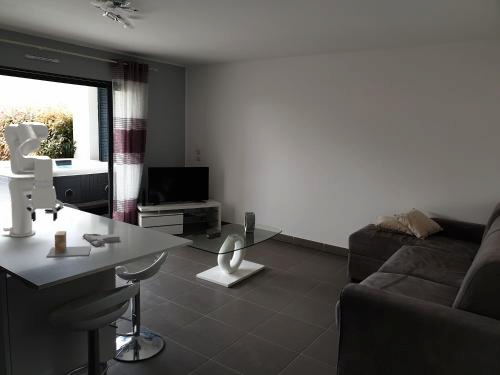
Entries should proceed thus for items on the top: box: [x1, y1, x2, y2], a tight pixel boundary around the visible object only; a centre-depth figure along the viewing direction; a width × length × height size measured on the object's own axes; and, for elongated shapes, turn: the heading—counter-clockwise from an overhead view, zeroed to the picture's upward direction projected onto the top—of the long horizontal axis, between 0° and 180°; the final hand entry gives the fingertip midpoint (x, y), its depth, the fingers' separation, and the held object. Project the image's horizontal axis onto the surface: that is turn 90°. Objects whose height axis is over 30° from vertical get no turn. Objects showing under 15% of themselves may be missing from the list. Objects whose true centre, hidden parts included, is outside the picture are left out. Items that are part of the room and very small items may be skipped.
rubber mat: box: [46, 245, 92, 258], centre depth 186 cm, size 18×14×1 cm
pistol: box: [82, 233, 121, 247], centre depth 209 cm, size 20×3×16 cm
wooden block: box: [54, 230, 67, 254], centre depth 185 cm, size 4×7×9 cm, turn 18°
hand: (44, 220), depth 181 cm, fingers open, 8 cm apart
